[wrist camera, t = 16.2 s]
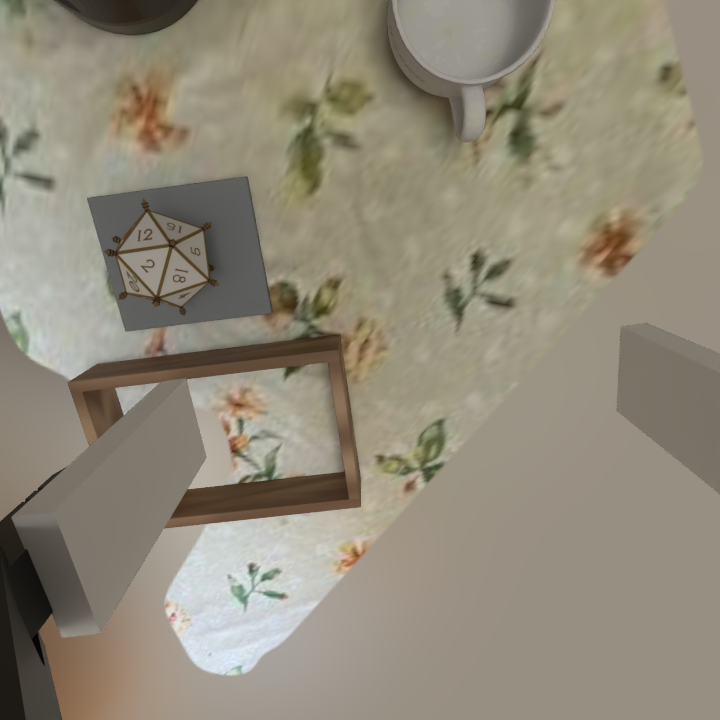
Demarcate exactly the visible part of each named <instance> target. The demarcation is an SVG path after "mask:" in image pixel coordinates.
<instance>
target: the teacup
mask: <svg viewBox="0 0 720 720" xmlns="http://www.w3.org/2000/svg"><path fill="white" fill-rule="evenodd" d="M555 3H556V0H389V2H388V12H387V26H388V36H389V41H390V45H391V48H392V52H393V54H394V57H395V59H396V61H397V63H398V65H399V66H400V68H401V70H402V71H403V72H404V74H405V75H406V76H407V77H408V78H409V79H410V80H411V81H412V82H413V83H414V84H415V85H416V86H418V87H419V88H421V89H422V90H424V91H426V92H428V93H430V94H433V95H436V96H440V97H448V98H449V102H450V105H451V109H452V115H453V122H454V127H455V132H456V136H457V137H458V139H459V140H460V141H461V142H471V141H476V140H477V139H478V138H480V136H481V135H482V132H483V129H484V125H485V117H486V106H485V97H484V93H483V90H484V89H486V88H487V87H489V86H491V85H492V84H494V83H495V82H497V81H498V80H500V79H501V78H502V77H504V76H506V75H508V74H509V73H511V72H513V71H514V70H516V69H517V68H518V67H520V66H521V65H522V64H523V63H524V62H525V61H526V60H527V59H528V58H529V57H530V56H531V55H532V54H533V53H534V51H535V50H536V48H537V47H538V45H539V44H540V42H541V41H542V39H543V37H544V35H545V33H546V31H547V29H548V27H549V24H550V21H551V18H552V14H553V11H554V8H555Z"/></svg>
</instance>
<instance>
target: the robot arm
mask: <svg viewBox="0 0 720 720" xmlns="http://www.w3.org/2000/svg"><path fill="white" fill-rule="evenodd" d="M55 1H56V2H57V3H58V4H60V5H61V6H63V7H64V8H66V9H67V10H68V11H70V12H71V13H73V14H74V15H76V16H77V17H79V18H81V19H82V20H84V21H86V22H87V23H89V24H91V25H93V26H96V27H98V28H100V29H103V30H106V31H110V32H114V33H120V34H144V33H149V32H153V31H156V30H159V29H162V28H164V27H166V26H168V25H170V24H172V23H173V22H175V21H177V20H178V19H179V18H181V17H182V16H183V15H184V14H185V13H186V12H187V11H188V10H189V9H190V8H191V7H192V6H193V5H194V4H195V2H196V1H197V0H55ZM620 329H621V330H620V349H619V350H620V351H619V371H618V392H617V411H618V412H619V413H620V414H621V415H622V416H624V417H625V418H626V419H627V420H629V421H630V422H631V423H632V424H633V425H635V426H636V427H637V428H638V429H640V430H641V431H642V432H643V433H645V434H646V435H647V436H648V437H650V438H651V439H652V440H653V441H655V442H656V443H657V444H658V445H659V446H661V447H662V448H663V449H664V450H666V451H667V452H668V453H669V454H671V455H672V456H673V457H674V458H676V459H677V460H678V461H679V462H681V463H682V464H683V465H684V466H685V467H687V468H688V469H689V470H690V471H692V472H693V473H694V474H696V475H697V476H698V477H699V478H700V479H702V480H703V481H704V482H705V483H707V484H708V485H709V486H710V487H711V488H713V489H714V490H715V491H717V492H718V493H719V494H720V353H718V352H715V351H713V350H710V349H708V348H706V347H703V346H701V345H699V344H696V343H694V342H691V341H689V340H686V339H684V338H682V337H679V336H677V335H675V334H672V333H670V332H667V331H665V330H663V329H660V328H658V327H655V326H653V325H650V324H648V323H642V324H634V325H627V326H621V328H620ZM205 459H206V454H205V450H204V446H203V442H202V439H201V434H200V430H199V427H198V423H197V419H196V415H195V411H194V407H193V403H192V399H191V395H190V392H189V388H188V384H187V380H186V378H185V379H177V380H169V381H162V382H160V383H159V384H158V385H157V386H156V387H155V388H154V389H153V390H152V391H150V392H149V393H148V394H147V395H146V396H145V397H144V398H143V399H142V400H140V401H139V402H138V403H137V404H136V405H135V406H134V407H133V408H132V409H131V410H129V411H128V412H127V413H126V414H125V415H124V416H123V417H122V418H121V419H119V420H118V421H117V422H116V423H115V424H114V425H113V426H112V427H111V428H109V429H108V430H107V431H106V432H105V433H104V434H103V435H102V436H101V437H99V438H98V439H97V440H96V441H95V442H94V443H93V444H92V445H91V446H89V447H88V448H87V449H86V450H85V451H84V452H83V453H82V454H81V455H80V456H78V457H77V458H76V459H75V460H74V461H73V462H72V463H71V464H70V465H68V466H67V467H65V468H64V469H62V470H60V471H59V472H57V473H55V474H54V475H52V476H51V477H50V478H49V479H48V480H46V481H45V482H44V483H43V484H42V485H41V486H40V487H39V488H38V491H34V492H33V493H32V494H31V495H30V496H28V498H26V499H25V502H22V503H21V504H20V505H18V506H17V507H16V508H15V509H14V510H13V511H12V512H10V513H9V514H8V515H7V516H6V517H5V518H4V519H3V520H1V521H0V720H62V716H61V712H60V708H59V704H58V699H57V696H56V691H55V687H54V683H53V679H52V674H51V670H50V666H49V662H48V657H47V654H46V649H45V645H44V643H43V641H42V638H41V636H40V634H39V632H38V631H39V630H40V628H41V627H42V625H43V624H44V623H45V622H46V620H47V619H48V618H49V616H50V615H51V614H52V615H53V618H54V620H55V622H56V624H57V627H58V629H59V632H60V634H61V637H72V636H82V635H92V634H101V632H102V630H103V629H104V627H105V626H106V623H107V622H108V620H109V619H110V617H111V616H112V614H113V612H114V610H115V609H116V607H117V605H118V604H119V602H120V601H121V599H122V597H123V596H124V594H125V592H126V591H127V589H128V587H129V586H130V584H131V582H132V580H133V579H134V577H135V576H136V574H137V572H138V571H139V569H140V567H141V565H142V564H143V562H144V561H145V559H146V557H147V556H148V554H149V552H150V551H151V549H152V547H153V545H154V544H155V542H156V541H157V539H158V537H159V536H160V534H161V532H162V531H163V529H164V527H165V526H166V524H167V522H168V521H169V519H170V517H171V516H172V514H173V512H174V511H175V509H176V507H177V506H178V504H179V502H180V501H181V499H182V497H183V496H184V494H185V492H186V491H187V489H188V487H189V486H190V484H191V482H192V481H193V479H194V477H195V476H196V474H197V472H198V471H199V469H200V467H201V466H202V464H203V462H204V461H205Z"/></svg>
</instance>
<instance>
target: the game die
mask: <svg viewBox="0 0 720 720" xmlns="http://www.w3.org/2000/svg"><path fill="white" fill-rule="evenodd" d="M141 205H142V206H143V207H142V208H144V210H145V211H144V213H143V214H142V215H141V216H140V217H139V219H138V220H137V221H136V222H135V223H134V225H133V226H132V227H131V228H130V229H129V231H128V232H127V233H126V234H125V235H124V237H123V238H122V239H120V237H117V236H115V237H111V238H112V239H113V242H115V243H119V244H118V247H117V249H116V251H114V250H111V249H107V250H106V251H104V253H106V254H107V255H108V257H109V256H111V257H113V256H115V257H116V261H117V264H118V268H119V272H120V275H121V279H122V282H123V286H124V289H125V292H123V293H122V292H121V294H119V298H118V300H122V299H123V300H124V299H125V298H126V297H127V295H132V296H136V297H140V298H144V299H148V300H152V301H153V302H152V304H154V306H155V307H157V306H158V305H160V303H163V304H167V305H171V306H175V307H179V308H180V310H179V312H180V314H182V315H183V316H184V317H185V313H186V311H185V309H184V307H183V306H184V305H185V304H186V303H187V302H188V301H189V300H191V299H192V298H193V297H194V296H195V295H196V294H197V293H198V292H199V291H200V290H201V289H202V288H204V287H205V286H206V285H207V284H208V283H210V284H211V285H213V286H218V285H219V283H218V282H217V280H214V279H211V278H210V271H213V270H214V269H215V268H214V267H213V266H212V265H209V261H208V253H207V245H206V236H205V230H209V228H211V224H212V222H208V223H206V224H205V225H204V226H203V227H199V226H196V225H193V224H190V223H187V222H184V221H181V220H178V219H175V218H172V217H169V216H166V215H163V214H160V213H157V212H154V211H151V210H149V205H148V202H147V201H146V200H144V199H143V200H142V204H141Z"/></svg>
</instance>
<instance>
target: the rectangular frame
mask: <svg viewBox="0 0 720 720" xmlns="http://www.w3.org/2000/svg"><path fill="white" fill-rule="evenodd" d="M324 362H328V366H329V372H330V379H331V385H332V392H333V398H334V404H335V411H336V417H337V424H338V430H339V437H340V443H341V449H342V456H343V462H344V469H345V472H341V473H332V474H323V475H314V476H305V477H296V478H287V479H278V480H269V481H260V482H251V483H242V484H233V485H224V486H215V487H206V488H197V489H188V490H187V491H186V492H185V494H184V496H183V497H182V499H181V501H180V502H179V504H178V506H177V507H176V509H175V511H174V512H173V514H172V516H171V517H170V519H169V521H168V522H167V524H166V526H165V527H164V528H172V527H182V526H191V525H200V524H209V523H219V522H228V521H237V520H246V519H256V518H265V517H274V516H283V515H292V514H302V513H311V512H320V511H329V510H339V509H348V508H357V507H361V477H360V470H359V463H358V456H357V449H356V442H355V435H354V428H353V421H352V414H351V407H350V401H349V394H348V387H347V380H346V373H345V366H344V359H343V352H342V345H341V338H340V335H332V336H324V337H315V338H307V339H299V340H291V341H283V342H275V343H266V344H258V345H250V346H242V347H234V348H226V349H217V350H209V351H201V352H193V353H185V354H177V355H168V356H160V357H152V358H144V359H136V360H128V361H119V362H111V363H103V364H97V365H95V366H93V367H92V368H90V369H89V370H87V371H85V372H84V373H82V374H80V375H79V376H77V377H76V378H74V379H72V380H71V381H69V382H68V386H69V388H70V392H71V394H72V397H73V400H74V403H75V406H76V409H77V412H78V415H79V418H80V421H81V424H82V426H83V430H84V433H85V435H86V438H87V441H88V444H89V446H91V445H92V444H93V443H94V442H95V441H96V440H97V439H98V438H99V437H101V436H102V435H103V434H104V433H105V432H106V431H107V430H108V429H109V428H111V427H112V426H113V425H114V424H115V423H116V422H117V421H118V420H119V419H121V418H122V417H123V413H122V410H121V406H120V403H119V400H118V397H117V393H116V390H115V388H117V387H125V386H133V385H142V384H150V383H158V382H162V381H169V380H177V379H185V378H186V379H191V378H200V377H208V376H216V375H225V374H233V373H241V372H250V371H258V370H266V369H274V368H283V367H291V366H299V365H308V364H316V363H324Z"/></svg>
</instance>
